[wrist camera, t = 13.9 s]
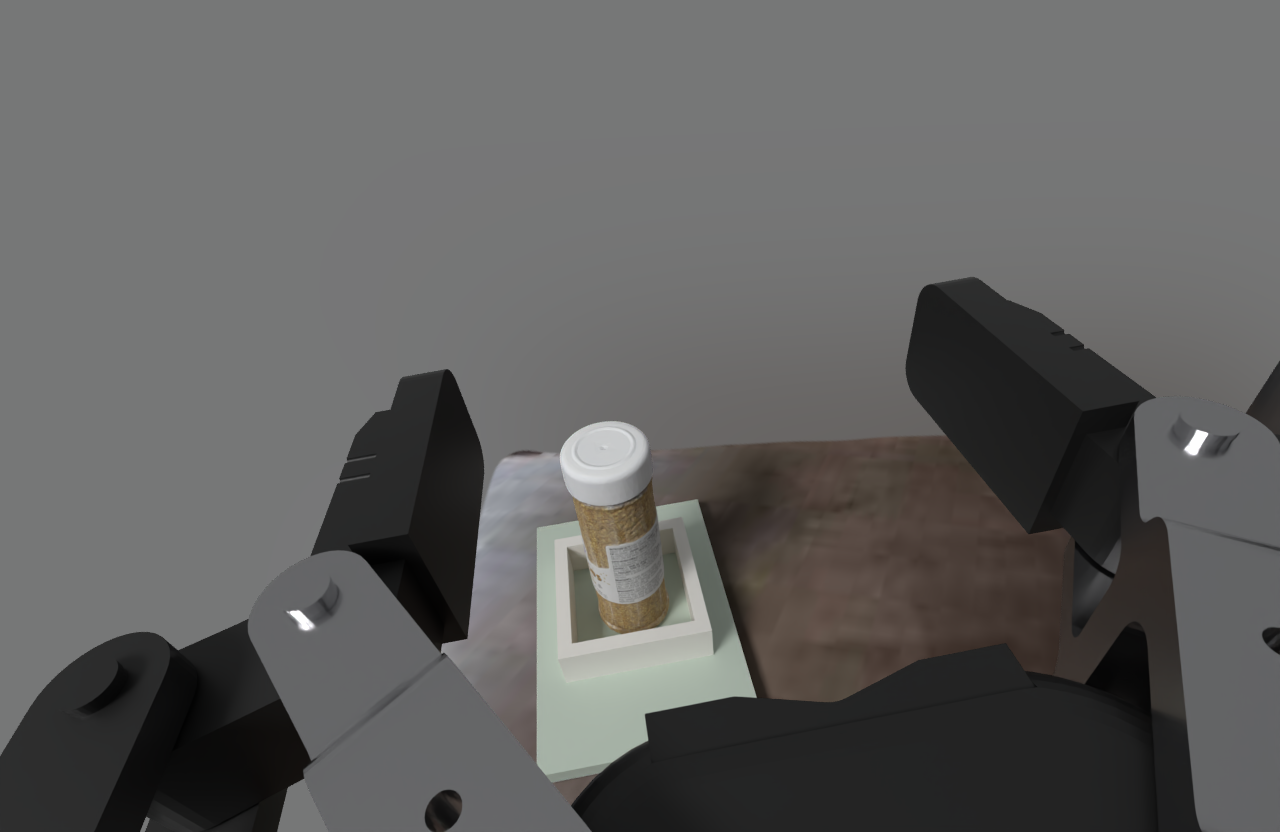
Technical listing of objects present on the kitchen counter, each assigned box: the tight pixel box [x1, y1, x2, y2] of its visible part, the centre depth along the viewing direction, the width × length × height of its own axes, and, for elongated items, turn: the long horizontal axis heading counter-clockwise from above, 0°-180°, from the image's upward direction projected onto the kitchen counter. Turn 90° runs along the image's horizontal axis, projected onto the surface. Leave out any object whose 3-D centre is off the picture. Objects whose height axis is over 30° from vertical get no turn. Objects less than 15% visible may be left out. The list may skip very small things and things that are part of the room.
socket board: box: [537, 499, 757, 783], centre depth 37 cm, size 12×17×4 cm
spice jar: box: [560, 421, 669, 634], centre depth 34 cm, size 5×4×13 cm
